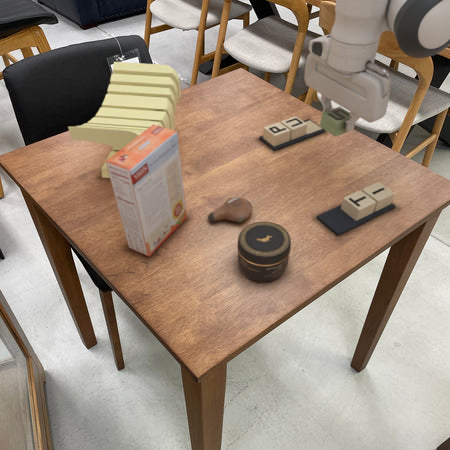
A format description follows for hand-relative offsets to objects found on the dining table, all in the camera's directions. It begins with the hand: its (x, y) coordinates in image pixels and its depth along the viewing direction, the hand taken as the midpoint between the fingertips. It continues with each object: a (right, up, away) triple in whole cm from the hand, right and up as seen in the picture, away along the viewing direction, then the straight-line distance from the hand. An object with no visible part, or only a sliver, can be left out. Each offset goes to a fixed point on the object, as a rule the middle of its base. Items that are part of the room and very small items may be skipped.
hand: (337, 122), depth 92 cm
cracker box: (-38, -23, +1) cm, 45 cm away
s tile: (0, -1, +1) cm, 1 cm away
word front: (+5, -18, +5) cm, 19 cm away
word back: (-6, +7, +25) cm, 27 cm away
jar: (-16, -31, -5) cm, 35 cm away
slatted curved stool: (-45, -4, +17) cm, 48 cm away
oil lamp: (-22, -19, +4) cm, 30 cm away
